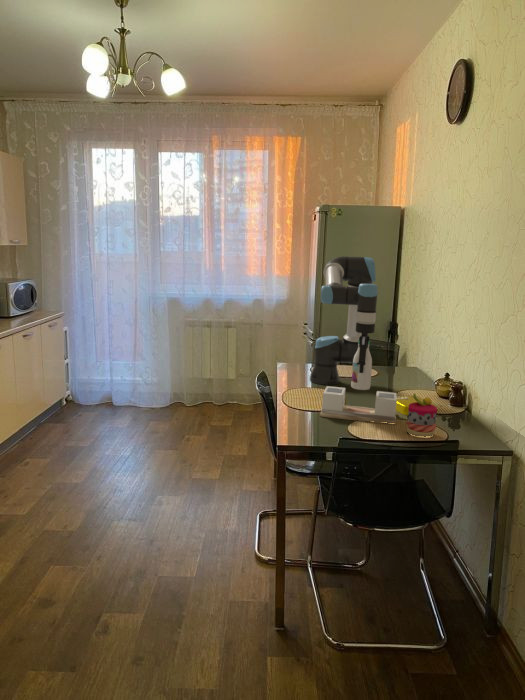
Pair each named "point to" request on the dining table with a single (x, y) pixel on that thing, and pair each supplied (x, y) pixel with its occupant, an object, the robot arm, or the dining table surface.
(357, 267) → the robot arm
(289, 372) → the dining table surface
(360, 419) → the mounting board
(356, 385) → the milk bottle
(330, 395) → the mounted modules
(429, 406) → the cake
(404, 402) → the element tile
